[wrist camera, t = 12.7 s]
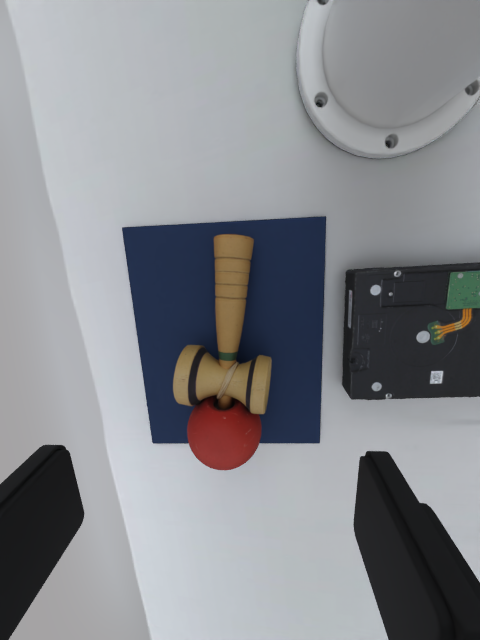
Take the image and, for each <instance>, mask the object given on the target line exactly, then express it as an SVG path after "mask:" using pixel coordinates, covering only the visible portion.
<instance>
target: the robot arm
mask: <svg viewBox="0 0 480 640" xmlns="http://www.w3.org/2000/svg"><path fill="white" fill-rule="evenodd" d="M296 73H297V79H298V85H299V91H300V94H301V97H302V100H303V103H304V106H305V109H306V111H307V113H308V114H309V116H310V118H311V119H312V121H313V123H314V125H315V126H316V127H317V128H318V129H319V131H320V132H321V133H322V134H323V135H324V136H325V137H326V138H327V139H328V140H329V141H331V142H332V143H333V144H335V145H336V146H337V147H339V148H340V149H342V150H345V151H347V152H349V153H352V154H354V155H357V156H362V157H367V158H392V157H396V156H401V155H405V154H408V153H411V152H413V151H415V150H418V149H420V148H422V147H424V146H426V145H427V144H429V143H431V142H432V141H434V140H436V139H438V138H439V137H441V136H442V135H443V134H444V133H446V132H447V131H448V130H450V129H451V128H452V127H454V126H455V125H456V124H457V123H458V122H459V121H460V120H461V119H462V118H463V117H464V116H465V115H466V113H467V112H468V111H469V110H470V109H471V108H472V107H473V105H474V104H475V102H476V101H477V100H478V98H479V97H480V0H308V2H307V4H306V7H305V10H304V14H303V18H302V23H301V27H300V31H299V37H298V44H297V50H296ZM316 103H320V104H321V106H322V107H321V108H320V107H317V106H316V105H315V104H316ZM385 142H387V143H388V144H389V147H388V148H387V147H386V145H385ZM83 518H84V510H83V505H82V501H81V497H80V493H79V489H78V485H77V481H76V477H75V473H74V469H73V464H72V460H71V456H70V453H69V451H68V450H66V448H65V447H64V446H63V445H43V446H42V447H40V448H39V449H38V450H37V451H36V452H35V453H33V454H32V455H31V456H30V457H29V458H28V459H27V460H26V461H25V462H24V463H23V464H22V465H21V466H19V468H17V469H16V470H15V471H14V472H13V473H12V474H11V475H10V476H9V477H8V478H7V479H6V480H4V481H3V482H2V483H1V484H0V640H9V638H10V636H11V635H12V633H13V632H14V630H15V629H16V627H17V625H18V624H19V622H20V621H21V619H22V618H23V616H24V614H25V613H26V611H27V610H28V608H29V607H30V605H31V603H32V602H33V600H34V598H35V597H36V595H37V594H38V592H39V591H40V589H41V588H42V586H43V584H44V583H45V581H46V580H47V578H48V577H49V575H50V573H51V572H52V570H53V568H54V567H55V565H56V564H57V562H58V561H59V559H60V558H61V556H62V554H63V553H64V551H65V550H66V548H67V547H68V545H69V543H70V542H71V540H72V539H73V537H74V536H75V534H76V532H77V531H78V529H79V528H80V526H81V524H82V522H83ZM354 532H355V536H356V540H357V543H358V546H359V549H360V552H361V555H362V558H363V562H364V565H365V568H366V571H367V574H368V577H369V580H370V583H371V586H372V589H373V593H374V596H375V599H376V602H377V605H378V608H379V611H380V614H381V617H382V620H383V624H384V627H385V630H386V633H387V636H388V639H389V640H480V582H479V581H478V579H477V578H476V576H475V575H474V573H473V571H472V570H471V568H470V567H469V565H468V564H467V562H466V561H465V559H464V558H463V556H462V554H461V553H460V551H459V550H458V548H457V547H456V545H455V544H454V542H453V540H452V539H451V537H450V536H449V534H448V533H447V531H446V530H445V528H444V526H443V525H442V523H441V522H440V520H439V519H438V517H437V516H436V514H435V513H434V511H433V510H432V509H431V507H429V506H428V505H427V504H424V503H419V501H418V500H417V498H416V496H415V495H414V493H413V491H412V490H411V488H410V487H409V485H408V483H407V482H406V480H405V478H404V477H403V475H402V473H401V472H400V470H399V468H398V467H397V465H396V464H395V462H394V460H393V459H392V457H391V455H390V454H389V453H388V452H384V451H367V452H366V455H365V456H361V457H360V462H359V472H358V483H357V493H356V504H355V514H354Z"/></svg>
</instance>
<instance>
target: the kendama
mask: <svg viewBox="0 0 480 640" xmlns="http://www.w3.org/2000/svg"><path fill="white" fill-rule="evenodd" d="M253 244H254V239H253V238H251V237H248V236H244V235H236V234H221V235H217V236H215V237H214V257H215V258H216V259H215V283H216V285H215V296H216V298H215V315H216V332H217V343H218V353H219V360H217V359H215V358H214V357H213V356H211V355H210V353H209V352H208V351H207V350H206V348H205V347H204V346H202V345H187V346H186V347H185V348H184V349H183V351H182V352H181V354H180V356H179V358H178V361H177V364H176V368H175V372H174V379H173V392H174V397H175V399H176V401H177V403H179V404H183V405H188V406H194V405H196V406H195V407H194V409H193V411H192V412H191V415H190V417H189V421H188V426H187V436H188V442H189V445H190V448H191V450H192V452H193V453H194V455H195V456H196V458H197V459H198V460H199V461H201V462H202V463H203V464H205V465H206V466H208V467H210V468H213V469H217V470H231V469H234V468H237V467H239V466H241V465H242V464H244V463H246V462H247V461H248V460H249V459H250V458H251V457H252V455H253V454H254V453H255V451H256V449H257V447H258V445H259V442H260V438H261V420H260V416H259V414H264V413H265V411H266V407H267V402H268V395H269V387H270V377H271V363H272V360H271V357H268V356H264V355H259V356H257V357H256V358H254V359H252V360H251V361H249V362H246V363H242V364H239V363H238V362H237V361H236V358H237V354H238V348H239V343H240V339H241V333H242V327H243V322H244V314H245V306H246V299H245V298H246V297H247V289H248V287H247V285H248V280H249V272H250V264H251V262H250V260H251V257H252V251H253Z"/></svg>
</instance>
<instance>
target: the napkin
mask: <svg viewBox="0 0 480 640" xmlns="http://www.w3.org/2000/svg"><path fill="white" fill-rule="evenodd" d="M122 231H123V238H124V245H125V252H126V259H127V266H128V273H129V280H130V287H131V294H132V301H133V308H134V315H135V322H136V329H137V336H138V343H139V350H140V357H141V364H142V371H143V378H144V385H145V392H146V400H147V407H148V414H149V421H150V428H151V435H152V442H153V443H189V442H188V436H187V426H188V421H189V417H190V415H191V412H192V411H193V409H194V407H195V406H196V405H194V406H188V405H183V404H179V403H177V401H176V399H175V397H174V392H173V379H174V372H175V368H176V364H177V361H178V358H179V356H180V354H181V352H182V351H183V349H184V348H185V347H186V346H187V345H202V346H204V347H205V348H206V350H207V351H208V352H209V353H210V355H211V356H213V357H214V358H215V359H217V360H219V353H218V343H217V332H216V315H215V298H216V296H215V285H216V283H215V259H216V258H215V257H214V237H215V236H217V235H221V234H236V235H244V236H248V237H251V238H253V239H254V244H253V251H252V257H251V260H250V262H251V264H250V272H249V280H248V285H247V287H248V289H247V297H246V298H245V299H246V306H245V314H244V322H243V327H242V333H241V339H240V343H239V348H238V354H237V358H236V361H237V362H238V363H239V364H242V363H246V362H249V361H251V360H252V359H254V358H256V357H257V356H259V355H264V356H268V357H271V360H272V363H271V377H270V387H269V395H268V402H267V407H266V411H265V413H264V414H259V416H260V420H261V438H260V442H259V443H320V414H321V378H322V343H323V307H324V272H325V236H326V216H325V217H307V218H289V219H270V220H252V221H234V222H215V223H197V224H179V225H160V226H142V227H124V228H122Z"/></svg>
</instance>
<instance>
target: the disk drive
mask: <svg viewBox="0 0 480 640" xmlns="http://www.w3.org/2000/svg"><path fill="white" fill-rule="evenodd" d="M345 283H346V290H345V315H344V344H343V382H342V385H343V387H344V389H345V390H346V392H347V394H348V395H349V397H350V398H351V399H352V400H353V399H366V400H382V399H386V398H388V399H405V398H439V397H477V396H479V397H480V263H464V264H446V265H429V266H413V267H394V268H382V267H381V268H365V269H354V270H347V271H346V281H345Z"/></svg>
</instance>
